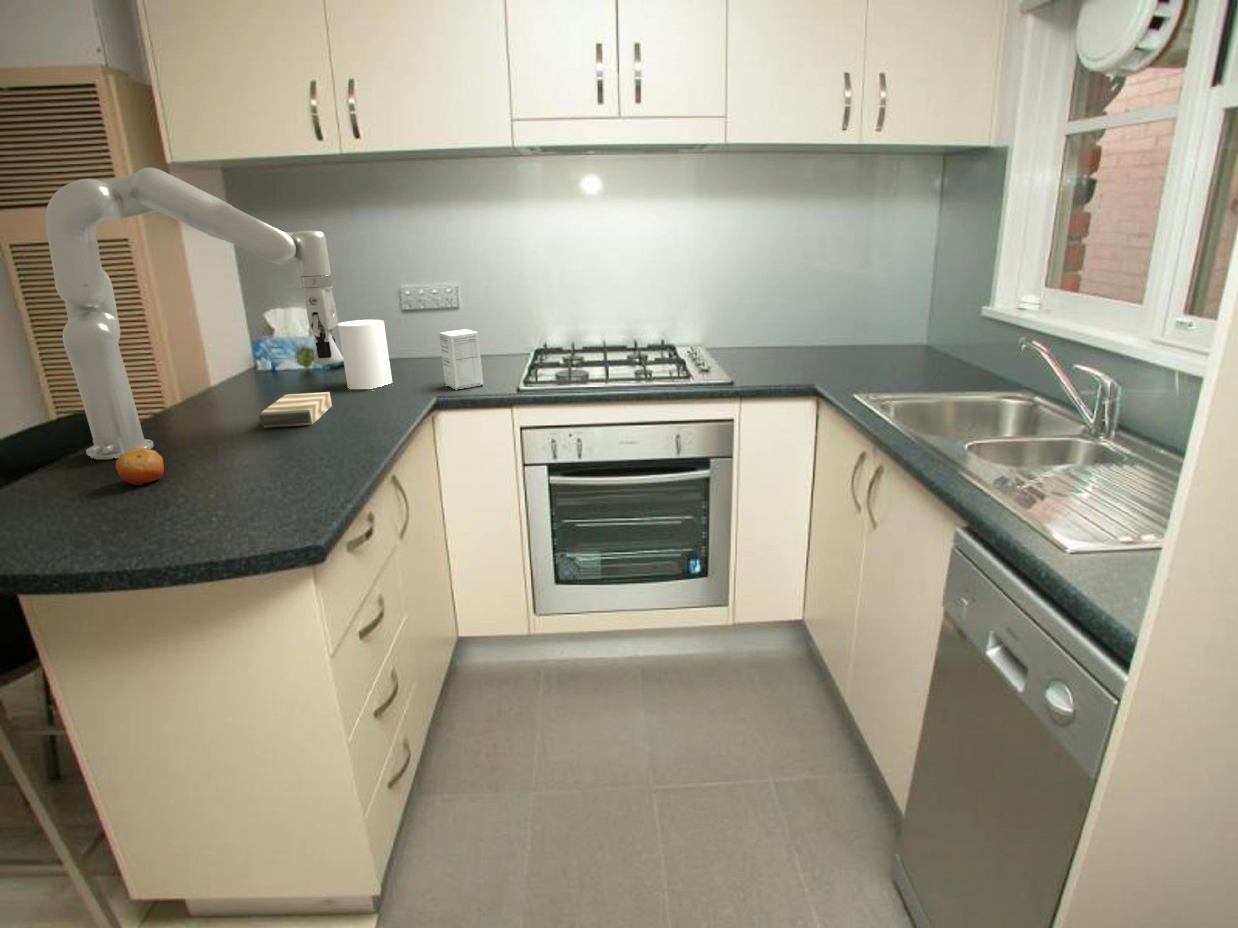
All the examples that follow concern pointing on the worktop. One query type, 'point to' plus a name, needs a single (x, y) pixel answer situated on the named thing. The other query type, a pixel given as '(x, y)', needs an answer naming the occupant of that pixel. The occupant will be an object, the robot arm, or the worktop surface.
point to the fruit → (140, 466)
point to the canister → (365, 354)
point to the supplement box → (461, 358)
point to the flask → (335, 352)
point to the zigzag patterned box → (296, 410)
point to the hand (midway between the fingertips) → (327, 355)
